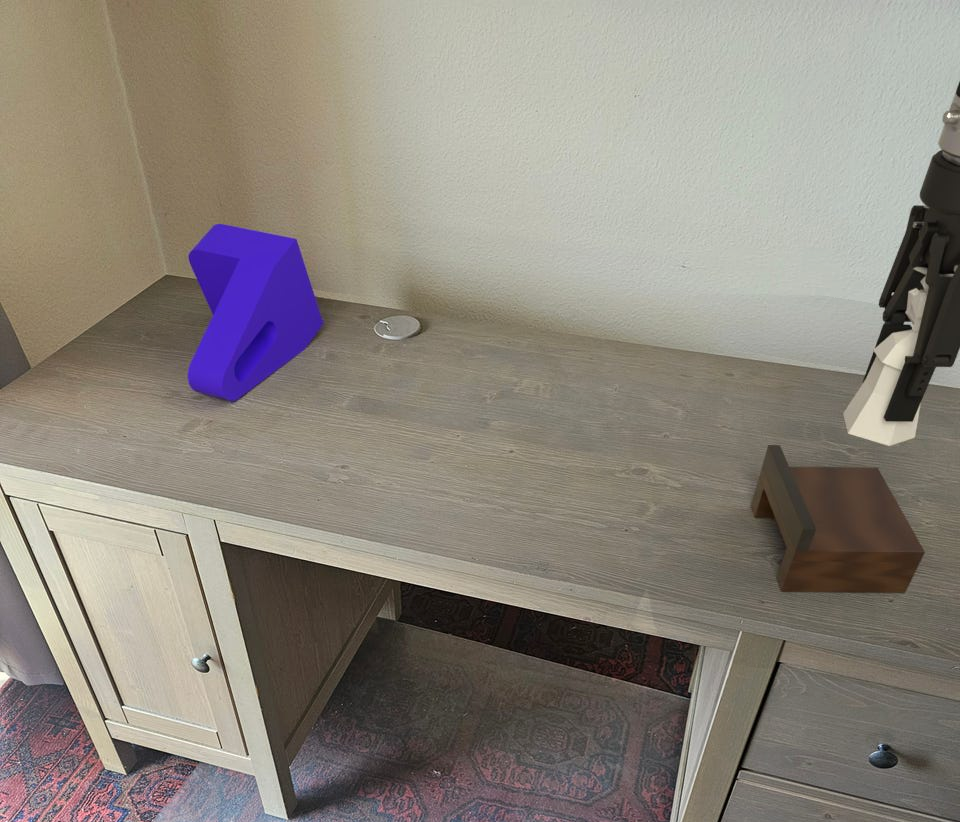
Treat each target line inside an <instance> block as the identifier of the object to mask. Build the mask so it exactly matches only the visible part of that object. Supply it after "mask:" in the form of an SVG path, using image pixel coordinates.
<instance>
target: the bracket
mask: <svg viewBox="0 0 960 822" xmlns="http://www.w3.org/2000/svg"><path fill="white" fill-rule="evenodd" d="M297 239H298V238H295V237H289V236H284V235H279V234H275V233H269V232H264V231H260V230H259V231H258V230H254V229H248V228H244V227H239V226H234V225H230V224H224V223H215V224H214V225H212V227H211V228H210V229H209V230H208V231H207V232H206V233H205V234H204V235H203V236H202V238H201V239H200V240H199V241H198V242H197V243H196V244H195V246H194V247H193V248H192V249H191V251H189V253H188V262H189V265H190V267H191V269H192V272H193V274H194V276H195V278H196V281H197V283H198V285H199V287H200V289H201V291H202V294H203V296H204V299H205V300H206V302H207V306H208V307H209V309H210V311H211V314H212V317H211V319H210V322H209V324H208V326H207V327H206V330H205V332H204V334H203V336H202V338H201V340H200V342H199V345H198V347H197V349H196V351H195V352H194V355H193V357H192V359H191V362H190V364H189V366H188V369H187V381H188V384H189V387H190V388H191V390H192V391H194V392H196V393H200V394H204V395H207V396H211V397H214V398H218V399H221V400H225V401H230V402H234V401H237V400H239V399H240V398H241V397H242V396H244V395H245V394H246V393H248V392H249V391H251V390H252V389H253V388H254V387H256V386H258V385H259V384H260V383H262V382H264V381H265V379H267V378H268V377H270V376H271V375H273V374H274V373H275V372H276V371H278V370H279V369H280V368H281V367H283V366H285V365H286V364H287V363H288V362H289V361H291V360H292V359H294V358H295V357H296V356H298V355H299V354H301V353H302V352H304V350H305V349H306V348H307V347H308V345H309V344H310V343H311V341H312V340H313V339H314V337H315V336H316V334H317V333H318V332H319V331H320V329H321V328H322V326H323V325H324V320H323V317H322V314H321V311H320V308H319V304H318V302H317V299H316V295H315V292H314V289H313V286H312V283H311V279H310V277H309V274H308V270H307V267H306V263H305V260H304V258H303V255H302V252H301V248H300V246H299V242H298V240H297Z"/></svg>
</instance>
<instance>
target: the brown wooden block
mask: <svg viewBox="0 0 960 822" xmlns="http://www.w3.org/2000/svg"><path fill="white" fill-rule="evenodd" d="M761 465H762V466H761V469H760V473H759V476H758V478H757V479H758V480H757V483H756V486H755V490H754V494H753V497H752V501H751V503H750V508H751V512H752V514H753V517H754V518H755V519H775V521H776V524H777V526H778V529H779V532H780V534H781V536H782V538H783V542H784V544H785V547H786V548H785V552H784V554H783V558H782V561H781V563H780V566H779V569H778V572H777V575H776V580H777V583H778V586H779V590H780V592H781V593H853V594H854V593H855V594H856V593H861V594H862V593H863V594H865V593H866V594H867V593H868V594H905V593H906V592H907V590H908V588H909V586H910V584H911V581H912V580H913V578H914V576H915V574H916V572H917V569H918V567H919V565H920V564H921V561H922V560H923V558H924V556H925V554H926V551H925V549H924V548H923V545H922V544H921V542H920V540H919V539H918V537H917V535H916V533H915V531H914V530H913V528H912V526H911V525H910V523H909V521H908V519H907V517H906V515H905V514H904V512H903V509H902V508H901V507H900V505H899V503H898V501H897V499H896V498H895V496H894V494H893V493H892V491H891V489H890V487H889V485H888V484H887V481H886V480H885V478H884V476H883V475H882V473H881V470H880V469H879V468H878V467H873V466H872V467H864V466H863V467H861V466H860V467H859V466H858V467H857V466H789V462H788V461H787V458H786V456H785V453H784V451H783V449H782V447H781V445H780V444H768V445H767V447H766V451H765V455H764V458H763V462H762V464H761Z"/></svg>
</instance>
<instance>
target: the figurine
mask: <svg viewBox="0 0 960 822" xmlns="http://www.w3.org/2000/svg"><path fill="white" fill-rule="evenodd" d="M913 269H915V270H917V271H919V272H921V273H923V274H925V275H926V274H927V270H928V268H926V267H915V268H913ZM953 275H954V274H939V276H948V277H953ZM925 279H926V276H925V277H924V278H923V279H922V280H921V281H920V282H921V284H922V285H923V287H924V290H920V291H919V290H918V289H917V288H915V289H913V290H911V291H909V293H908V303H907V310H906V312H905V313H906V314H907V316H908V317H909V319H910V320H911V322H910V323H911V324H912V325H913V327H912V330H907V331H901V332H895V333H892V334H891V335H890V336H889V337H887V338H886V339H885V340H884V341H883V342H882V343H881V344H879V345H878V346H877V347H876V348H875V347H874V349H873V352H875V353H876V355H877V356H876V358H875V360H874V362H873V365H872V367H871V369H870V371H869V373H868V375H867V378H866V380H865V381H864V383H862V384H861V386H860V387H859V388H858V390H857V391H856V393H855V394H854V396H853V398H852V399H851V401H850V402H849V403H848V406H847V407H846V408H845V410H844V412H843V413H842V415H843V419H844V422H845V427H846V431H847V434H849V435H851V436H854V437H858V438H861V439H865V440H868V441H872V442H874V443H878V444H881V445H884V446H888V447H890V446H894V445H897V444H900V443H903V442H905V441H909V440H911V439H914V438H916V435H917V434H916V433H917V427H918V422H919V415H920V409H921V404H922V402H921V403H920V405H919V408H918V410H917V413H916V415H915V417H914V420H913V422H897V421H885V419H884V415H885V412H886V410H887V407H888V405H889V402H890V399H891V397H892V394H893V392H894V389H895V387H896V384H897V381H898V379H899V376H900V374H901V371H902V369H903V366H904V363H905V356H913V354H914V350H915V345H916V341H917V337H918V332H919V328H920V324H921V320H922V315H923V311H924V307H925V302H926V298H927V294H928V289H929V286H928V285H927V284H926V282H925ZM935 371H936V369H935V370H934V372H935Z"/></svg>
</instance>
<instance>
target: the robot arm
mask: <svg viewBox="0 0 960 822" xmlns="http://www.w3.org/2000/svg"><path fill="white" fill-rule="evenodd" d="M942 122H943V127H942V129H941V133H940V136H939V138H938V141H937V144H938V147H939V149H940V150H938V151H937V152H936V153H935V154H933V155H932V156H931V159H930V162H929V165H928V168H927V171H926V174H925V176H924V179H923V182H922V185H921V188H920V190H919V199H920V201H921V202H922V203H923V204H924V205H923V204H922V205H921V204H920V205H919V204H916V205H913V206H912V207H911V209H910V212H909V216H908V221H907V225H906V229H905V232H904V235H903V238H902V240H901V243H900V245H899V248H898V251H897V252H896V255H895V258H894V261H893V263H892V266H891V269H890V271H889V273H888V277H887V279H886V281H885V284H884V286H883V290H882V292H881V294H880V297H879V300H878V306H879V308H880V309H881V308H884V310H883V312H882V321H883V322H884V323H883V324H882V326H881V330H880V332H879V335H878V338H877V341H876V344H875V346H874V349H875V348H876V347H877V346H878V345H879V344H881V343H882V342H883V341H884V340H885V339H886V338H887V337H889V336H890V335H891V334H892V333H895V332H901V331H907V330H913V327H912V325H911V324H906V323H912V322H911V320H910V319H909V317H908V316H907V314H906V313H905V312H906V310H907V303H908V293H909V291H911V290H913V289H915V288H917V289H918V290H919V291H920V290H924V287H923V285H922V284H921V282H920V281H921V280H922V279H923V278H924V277H925V276H926V279H925V282H926V284H927V285H928V286H929V289H928V294H927V298H926V302H925V307H924V311H923V315H922V320H921V324H920V328H919V332H918V337H917V341H916V345H915V350H914V354H913V356H905V363H904V366H903V369H902V371H901V374H900V376H899V379H898V381H897V384H896V387H895V389H894V392H893V394H892V397H891V399H890V402H889V405H888V407H887V410H886V412H885V415H884V419H885V421H897V422H913V420H914V417H915V415H916V413H917V410H918V408H919V405H920V406H921V404H922V400H923V398H924V396H925V393H926V391H927V389H928V386H929V384H930V382H931V379H932V377H933V375H934V373H935V371H936V369H937V368H952V367H953V366H954V364H955V362H956V359H957V357H958V355H959V351H960V80H959V81H958V84H957V87H956V89H955V93H954V95H953V98H952V101H951V104H950V107H949V110H946V111H945V112H943V114H942ZM915 267H926V268H928V270H927V274H926V275H925V274H923V273H921V272H919V271H917V270H915V269H913V268H915ZM939 274H954V275H953V277H948V276H939ZM904 323H905V324H904ZM876 356H877V355H876V353H875V352H874V351H873V353H872V354H871V358H870V360H869V363H868V366H867V368H866V371H865V374H864V377H863V380H862V384H863V383H864V381H865V380H866V378H867V375H868V373H869V371H870V369H871V367H872V365H873V362H874V360H875V358H876ZM934 370H935V371H934ZM920 403H921V404H920Z"/></svg>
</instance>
